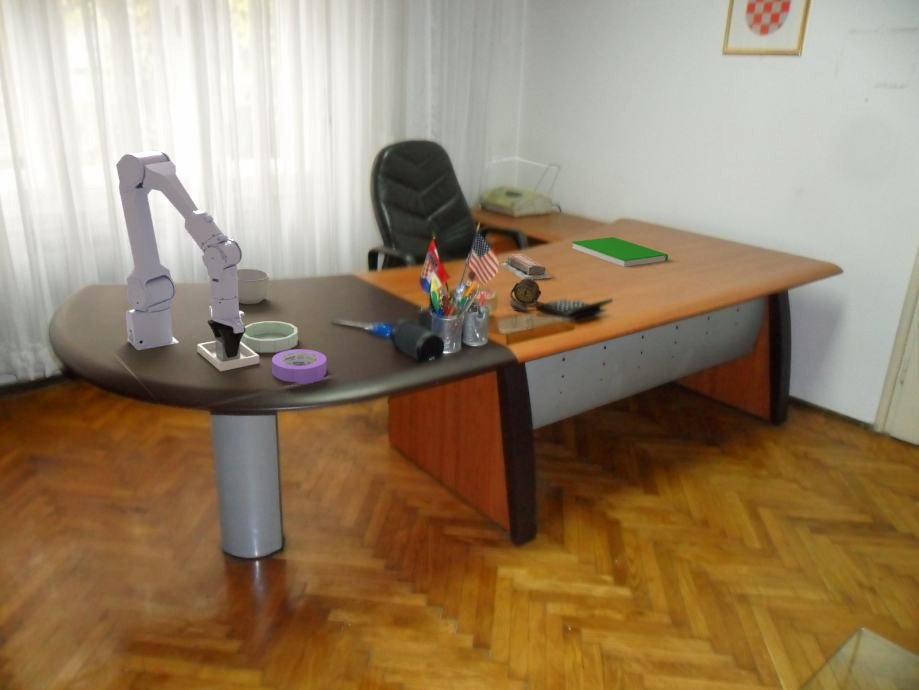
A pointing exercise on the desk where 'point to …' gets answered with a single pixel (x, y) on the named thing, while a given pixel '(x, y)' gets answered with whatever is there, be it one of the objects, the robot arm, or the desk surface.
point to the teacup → (252, 285)
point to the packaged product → (524, 267)
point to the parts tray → (245, 359)
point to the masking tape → (303, 374)
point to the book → (619, 251)
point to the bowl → (270, 336)
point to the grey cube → (223, 350)
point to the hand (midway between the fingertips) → (228, 353)
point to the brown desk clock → (524, 294)
